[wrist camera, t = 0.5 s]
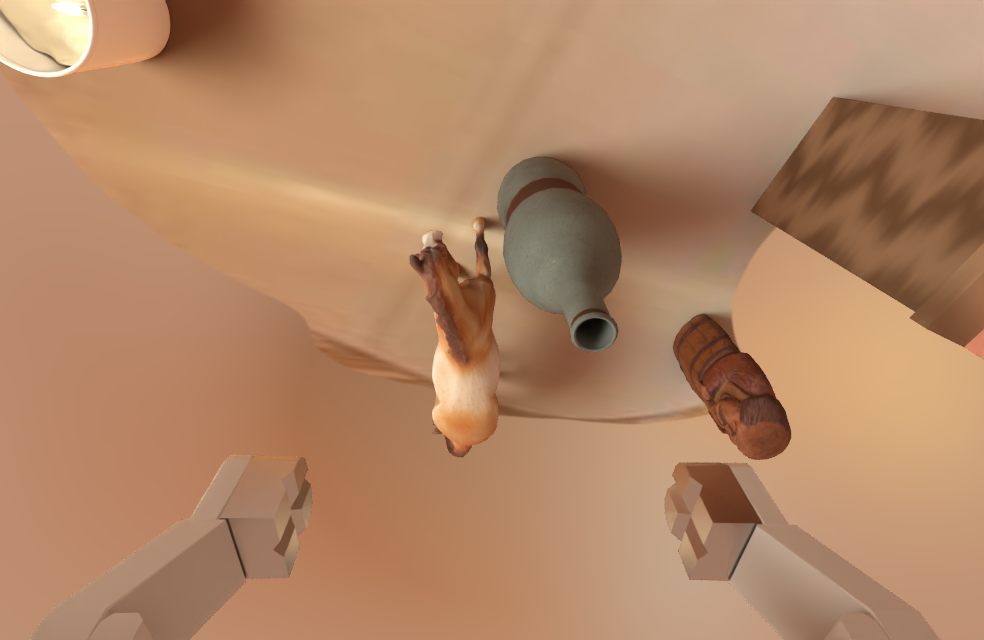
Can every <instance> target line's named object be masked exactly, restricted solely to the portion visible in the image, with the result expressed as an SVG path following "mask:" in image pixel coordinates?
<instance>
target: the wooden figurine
mask: <svg viewBox="0 0 984 640" xmlns="http://www.w3.org/2000/svg"><path fill="white" fill-rule="evenodd" d="M673 350H674V354H675V356H676V358H677V360H678V361H679V363H680V368H681V370H682V371H683V372H684V374H685V376H686V379H687V381H688V382H689V384H690V386H691V388H692V389H693V390H694V391H695V393H696V394H697V395H698V396H699V397H700V399H701V400H702V401H703V402H704V403H705V404H706V406H707V408H708V409H709V414H710V415H711V417H712V418H713V419H714V421H715V423H716V424H717V426H718V428H719V430H720V431H721V432H722V433H726V434H728V435H729V438H730V440H731V441H732V442H733V443H734V444H735V445H737V447H738V449H739V450H740V451H741V452H742V453H743V454H744V455H745V456H747V457H748V458H751V459H755V460H761V459H769V458H772V457H775V456H777V455H778V454H780V453H782V452H783V451H784V450H785V449H786V447H787V446H788V444H789V442H790V439H791V429H790V426H789V422H788V419H787V416H786V412H785V410H784V408H783V407H782V405H781V403H780V402H779V401H778V400H777V399H776V396H775V394H774V391H773V389H772V386H771V384H770V382H769V381H768V379H767V377H766V375H765V374H764V372H763V371H762V369H761V368H760V367H759V365H758V364H757V363H756V362H755V361H754V359H753V358H752V357H751V356H750V355H749V354H747V353H741V352H740V351H739V349H738V348H737V347H736V346H735V345H734V343H733V342H732V340H731V339H730V337H729V336H728V335H727V333H726V332H725V331H724V330H723V329H722V328H721V327H720V326H719V325H718V324H717V323H716V322H715V321H713V320H712V319H711V318H710V317H708V316H707V315H705V314H701V315H697V316H695V317H694V318H693V319H691V321H689V322H688V323H687V324H686V325H684V326H683V327H682V328H681V330H680V332H679V333H678V334H677V336H676V339H675V341H674V345H673Z"/></svg>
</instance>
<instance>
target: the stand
mask: <svg viewBox="0 0 984 640" xmlns="http://www.w3.org/2000/svg"><path fill="white" fill-rule="evenodd" d="M751 211H752V212H753V213H755V214H757V215H758V216H760V217H761V218H763V219H765V220H766V221H768V222H770V223H771V224H773V225H775V226H776V227H778V228H779V229H781V230H783V231H784V232H786V233H788V234H789V235H791V236H793V237H794V238H796V239H797V240H799V241H801V242H802V243H804V244H806V245H807V246H809V247H810V248H812V249H814V250H815V251H817V252H819V253H820V254H822V255H824V256H825V257H827V258H828V259H830V260H832V261H834V262H835V263H837V264H838V265H840V266H842V267H843V268H845V269H847V270H848V271H850V272H851V273H853V274H855V275H856V276H858V277H859V278H861V279H863V280H864V281H866V282H868V283H869V284H871V285H872V286H874V287H876V288H877V289H879V290H881V291H882V292H884V293H886V294H887V295H889V296H890V297H892V298H894V299H895V300H897V301H899V302H900V303H902V304H904V305H905V306H907V307H908V308H910V309H912V310H913V311H915V313H914V314H913V315H912V316H911V317H910V319H912V320H914V321H915V322H917V323H918V324H920V325H921V326H923V327H925V328H926V329H928V330H930V331H932V332H934V333H936V334H938V335H940V336H942V337H944V338H946V339H949V340H951V341H953V342H955V343H957V344H959V345H961V346H963V347H965V346H966V345H967V344H968V343H969V342H970V341H971V340H973V339H974V338H975V337H976V336H977V335H978V334H979V333H980V332H981V331H982V330H983V329H984V120H979V119H973V118H966V117H959V116H953V115H946V114H940V113H933V112H927V111H920V110H914V109H907V108H900V107H894V106H887V105H881V104H874V103H868V102H861V101H855V100H848V99H841V98H835V97H833V98H832V100H831V101H830V102H829V104H828V105H827V107H826V108H825V109H824V111H823V112H822V113H821V115H820V116H819V118H818V119H817V120H816V122H815V123H814V124H813V126H812V127H811V129H810V130H809V131H808V133H807V134H806V136H805V137H804V138H803V140H802V141H801V142H800V144H799V145H798V147H797V148H796V149H795V151H794V152H793V154H792V155H791V156H790V158H789V159H788V160H787V162H786V163H785V165H784V166H783V167H782V169H781V170H780V171H779V173H778V174H777V176H776V177H775V178H774V180H773V181H772V183H771V184H770V185H769V187H768V188H767V189H766V191H765V192H764V194H763V195H762V196H761V198H760V199H759V201H758V202H757V203H756V205H755V206H754V207H753V209H752V210H751Z"/></svg>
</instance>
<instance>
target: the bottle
mask: <svg viewBox="0 0 984 640" xmlns="http://www.w3.org/2000/svg"><path fill="white" fill-rule="evenodd" d="M497 210H498V214H499V217H500V221H501V223H502V225H503V227H504V229H505V235H504V247H503V256H504V259H505V263H506V266H507V270H508V272H509V274H510V277H511V279H512V281H513V283H514V284H515V286H516V287H517V288H518V290H519V291H520V293H521V294H522V295H523V296H524V297H525V298H526V299H527V300H528V301H529V302H531V303H532V304H534V305H535V306H536V307H538V308H539V309H542V310H545V311H548V312H551V313H554V314H565V317H566V320H567V322H568V325H569V328H570V337H571V341H572V342H573V344H574V345H575V346H576V347H577V348H579V349H580V350H583V351H586V352H599V351H603V350H605V349H607V348H609V347H610V346H611V345H612V344H613V343H614V341H615V340H616V338H617V334H618V327H617V324H616V322H615V321H614V319H613V318H611V317H610V314H609V312H608V310H607V308H606V306H605V303H604V301H603V299H604V298H605V297H606V296H607V295H608V294H609V293H610V292H611V290H612V289H613V287H614V285H615V283H616V281H617V280H618V278H619V272H620V267H621V258H622V255H621V248H620V242H619V238H618V235H617V232H616V229H615V227H614V225H613V223H612V221H611V220H610V218H609V216H608V214H607V212H606V211H605V210H604V209H602V208H601V207H600V206H599V205H598V204H597V203H595V202H594V201H593V200H592V199H590V198H589V197H587V194H586V190H585V187H584V185H583V183H582V181H581V180H580V178H579V176H578V174H576V173H575V172H574V171H573V170H572V169H571V168H570V167H568V166H567V165H565V164H564V163H562V162H559V161H557V160H554V159H552V158H548V157H534V158H530V159H526V160H523V161H522V162H520V163H519V164H517V165H515V166H514V167H512V169H511V170H510V171H509V172H508V174H507V175H506V176H505V177H504V180H503V182H502V185H501V187H500V190H499V193H498V204H497Z"/></svg>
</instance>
